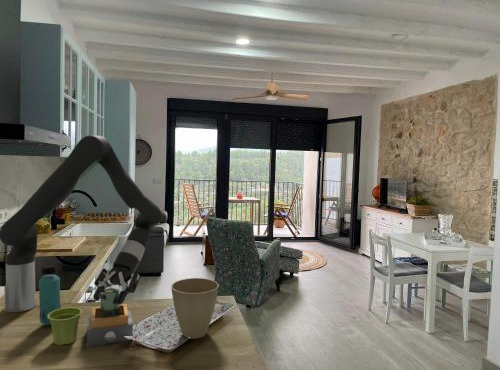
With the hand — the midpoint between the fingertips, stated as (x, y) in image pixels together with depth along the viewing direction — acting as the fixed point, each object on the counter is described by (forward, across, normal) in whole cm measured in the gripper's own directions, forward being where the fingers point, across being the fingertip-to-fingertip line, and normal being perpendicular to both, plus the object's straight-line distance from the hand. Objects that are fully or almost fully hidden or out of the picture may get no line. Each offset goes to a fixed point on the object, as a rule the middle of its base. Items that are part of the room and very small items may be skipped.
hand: (106, 301), depth 120 cm
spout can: (+4, 0, +5) cm, 6 cm away
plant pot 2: (0, +25, +16) cm, 30 cm away
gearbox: (+7, 0, +9) cm, 11 cm away
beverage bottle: (+8, -23, +8) cm, 26 cm away
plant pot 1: (+13, -10, +3) cm, 17 cm away
